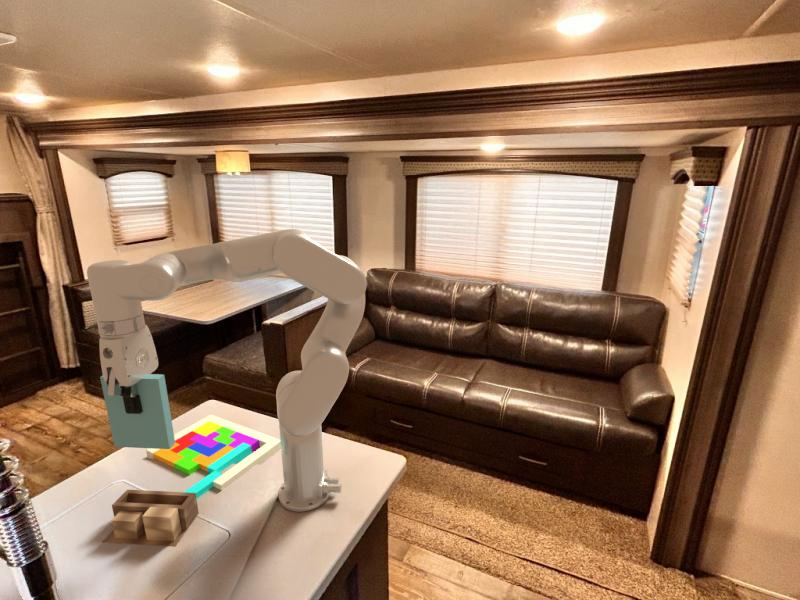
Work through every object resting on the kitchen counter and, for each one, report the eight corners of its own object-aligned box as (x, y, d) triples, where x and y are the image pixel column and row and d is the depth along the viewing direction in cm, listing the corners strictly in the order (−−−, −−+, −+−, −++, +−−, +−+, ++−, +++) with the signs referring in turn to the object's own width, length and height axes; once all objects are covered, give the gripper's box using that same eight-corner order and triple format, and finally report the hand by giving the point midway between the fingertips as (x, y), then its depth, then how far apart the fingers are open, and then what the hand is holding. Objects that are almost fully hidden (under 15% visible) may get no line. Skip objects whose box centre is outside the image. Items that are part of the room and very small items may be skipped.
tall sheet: (175, 443, 89) (164, 374, 84) (169, 449, 87) (158, 379, 82) (121, 441, 89) (107, 372, 85) (114, 446, 87) (100, 377, 83)
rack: (199, 516, 95) (195, 492, 93) (176, 550, 86) (171, 524, 85) (132, 513, 96) (127, 489, 94) (102, 545, 87) (96, 520, 86)
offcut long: (181, 531, 90) (177, 508, 88) (174, 541, 87) (170, 517, 86) (154, 529, 90) (150, 506, 89) (146, 539, 88) (142, 516, 86)
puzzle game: (212, 422, 134) (113, 478, 108) (211, 414, 133) (111, 468, 107) (283, 449, 120) (189, 520, 95) (282, 440, 119) (187, 509, 94)
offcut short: (145, 529, 90) (142, 512, 89) (137, 539, 88) (134, 521, 87) (123, 528, 91) (120, 511, 89) (115, 537, 88) (111, 520, 87)
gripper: (110, 340, 73) (129, 432, 78) (165, 313, 88) (178, 391, 93) (70, 339, 73) (91, 431, 78) (131, 312, 89) (146, 390, 93)
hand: (138, 409), depth 86 cm, fingers closed on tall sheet, 2 cm apart
